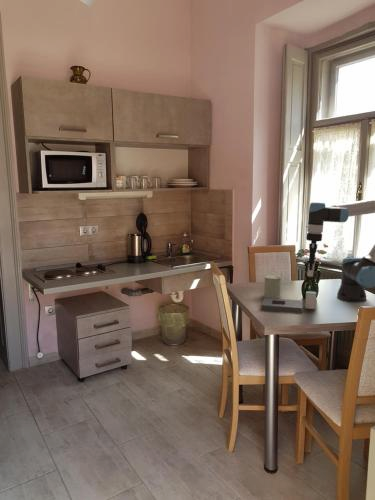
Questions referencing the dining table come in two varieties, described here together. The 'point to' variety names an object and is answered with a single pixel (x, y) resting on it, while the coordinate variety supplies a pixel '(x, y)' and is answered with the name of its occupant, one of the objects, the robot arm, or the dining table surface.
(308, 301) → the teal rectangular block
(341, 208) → the robot arm
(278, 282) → the can
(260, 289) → the dining table surface
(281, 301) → the socket
